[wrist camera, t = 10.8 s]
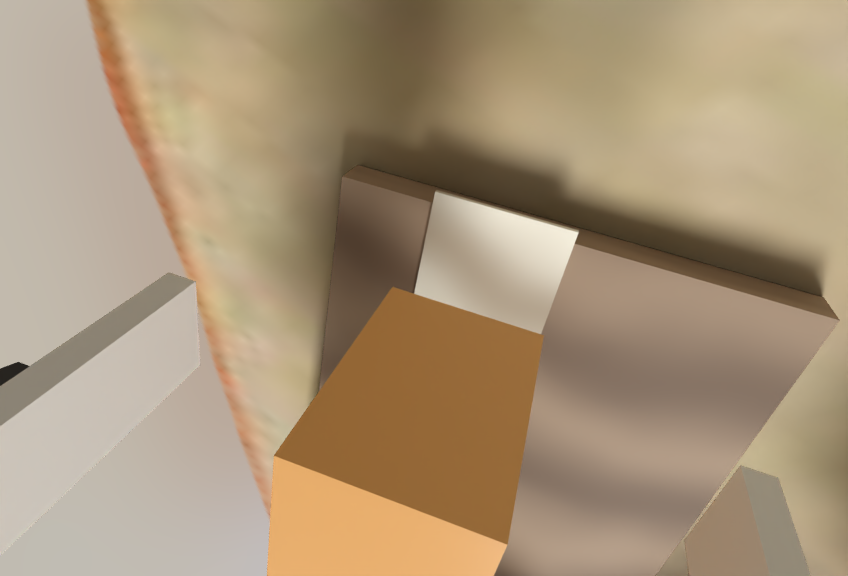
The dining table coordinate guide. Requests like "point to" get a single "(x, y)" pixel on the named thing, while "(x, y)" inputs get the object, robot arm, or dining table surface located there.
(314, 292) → the dining table surface
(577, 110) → the dining table surface
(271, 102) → the dining table surface
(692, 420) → the post base
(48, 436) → the robot arm
